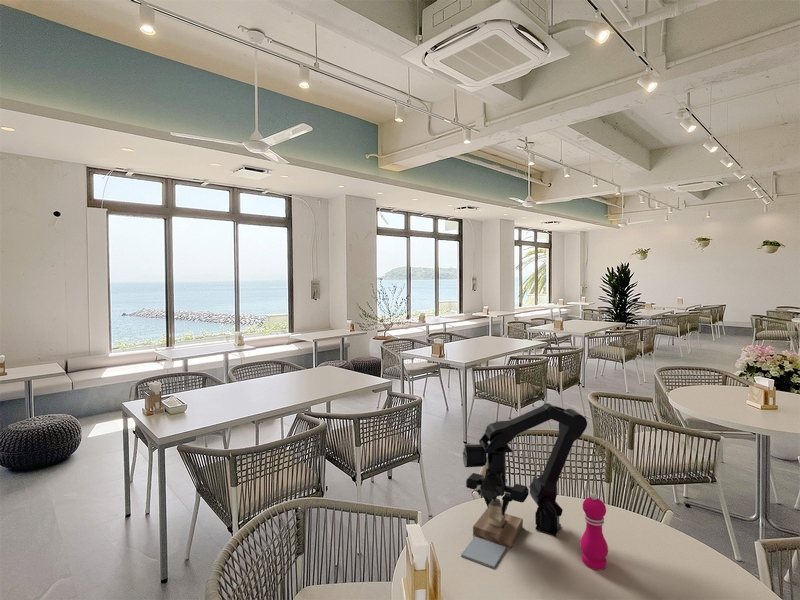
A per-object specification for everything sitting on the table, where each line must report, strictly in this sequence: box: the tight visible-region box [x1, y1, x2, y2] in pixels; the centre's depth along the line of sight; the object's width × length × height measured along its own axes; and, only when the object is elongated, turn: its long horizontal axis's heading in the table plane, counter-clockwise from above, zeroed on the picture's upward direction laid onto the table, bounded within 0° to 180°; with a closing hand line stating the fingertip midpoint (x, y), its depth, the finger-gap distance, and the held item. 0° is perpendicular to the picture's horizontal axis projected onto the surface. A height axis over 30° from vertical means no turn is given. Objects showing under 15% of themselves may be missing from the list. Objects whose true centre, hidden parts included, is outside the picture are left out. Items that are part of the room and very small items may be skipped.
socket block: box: [472, 507, 524, 549], centre depth 136 cm, size 12×12×3 cm
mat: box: [460, 536, 507, 569], centre depth 126 cm, size 10×10×1 cm
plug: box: [487, 497, 506, 528], centre depth 135 cm, size 4×4×9 cm
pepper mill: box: [579, 492, 609, 571], centre depth 120 cm, size 7×7×20 cm
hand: (496, 513), depth 135 cm, fingers closed on plug, 4 cm apart
